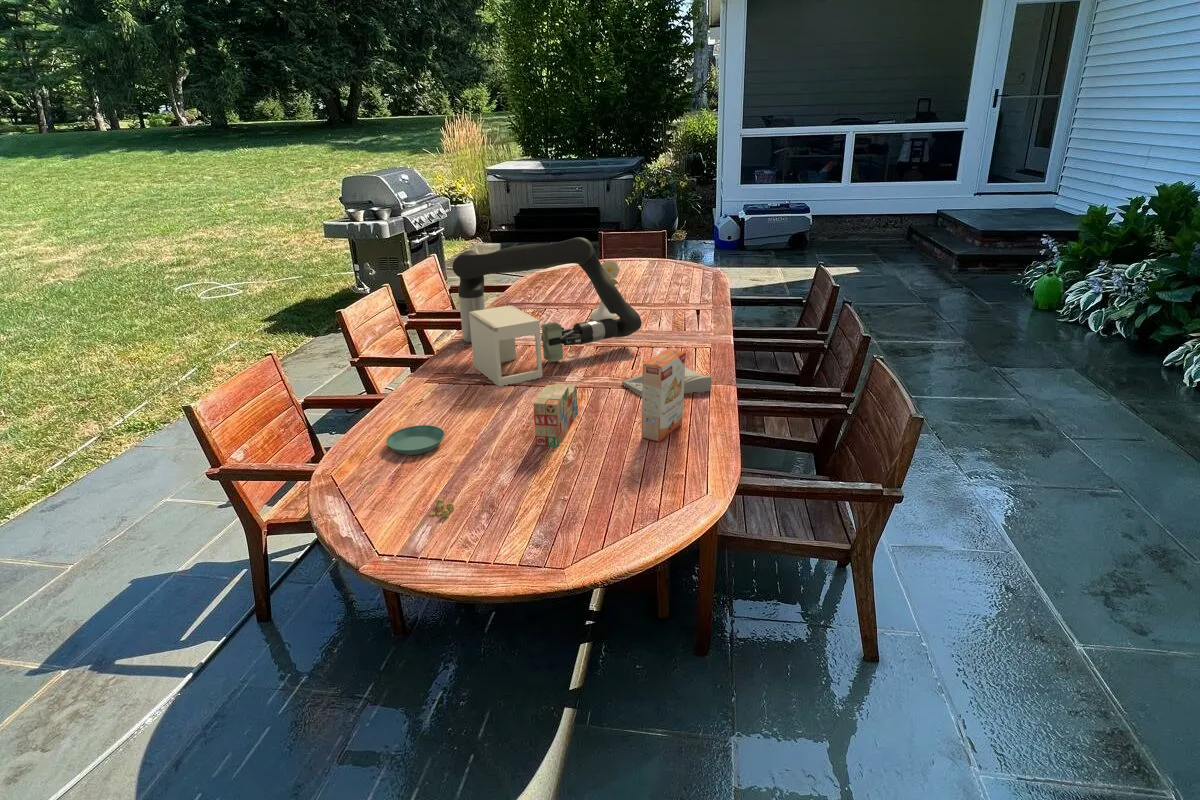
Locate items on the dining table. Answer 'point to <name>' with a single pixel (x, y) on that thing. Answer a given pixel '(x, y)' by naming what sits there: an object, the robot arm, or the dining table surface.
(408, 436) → the saucer
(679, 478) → the dining table surface
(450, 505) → the dice set
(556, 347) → the sage block
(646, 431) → the cracker box
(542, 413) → the stack of blocks
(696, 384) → the ramp
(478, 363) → the cubby
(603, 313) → the flower in vase
